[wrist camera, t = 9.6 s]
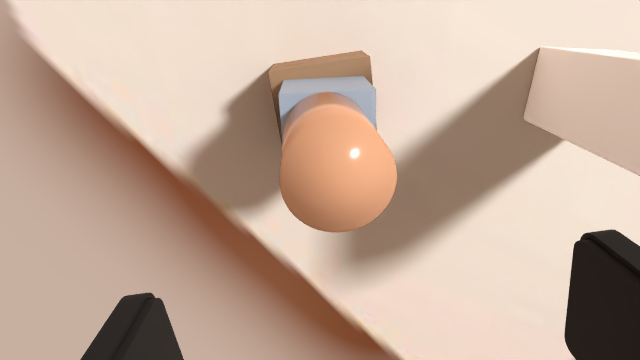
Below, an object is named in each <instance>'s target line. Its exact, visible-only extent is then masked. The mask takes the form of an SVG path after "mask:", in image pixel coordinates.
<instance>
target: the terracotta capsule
mask: <svg viewBox="0 0 640 360" xmlns="http://www.w3.org/2000/svg"><path fill="white" fill-rule="evenodd" d="M396 181H397V169H396V164H395V160H394V157H393V155H392V153H391V151H390V149H389V148H388V146H387V145H386V144H385V142H384V141H383V139H382V138H381V136H380V135H379V134H378V132H377V131H376V129H375V128H374V126H373V125H372V124H371V122H370V121H369V119H368V118H367V116H366V115H365V114H364V112H363V111H362V109H361V108H360V107H359V106H358V105H357V103H355V102H354V101H353V100H352V99H350V98H348V97H347V96H344V95H342V94H339V93H334V92H320V93H316V94H312V95H310V96H308V97H306V98H304V99H302V100H301V101H300V102H298V103H297V104H296V105H295V106H294V108H293V109H292V110H291V112H290V113H289V115H288V117H287V119H286V122H285V126H284V133H283V145H282V156H281V168H280V189H281V193H282V197H283V199H284V201H285V204H286V205H287V207H288V208H289V210H290V211H291V212H292V214H293V215H294V216H295V217H296V218H298V219H299V220H300V221H301V222H303V223H304V224H306V225H308V226H310V227H312V228H315V229H317V230H321V231H326V232H346V231H350V230H354V229H357V228H360V227H362V226H364V225H366V224H368V223H370V222H371V221H373V220H374V219H375V218H377V217H378V216H379V215H380V214H381V213H382V212H383V211H384V209H385V208H386V207H387V205H388V204H389V202H390V200H391V199H392V196H393V194H394V191H395V187H396Z"/></svg>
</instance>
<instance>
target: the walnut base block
mask: <svg viewBox="0 0 640 360" xmlns="http://www.w3.org/2000/svg"><path fill="white" fill-rule="evenodd" d="M268 74H269V79H270V84H271V90H272V95H273V100H274V105H275V111H276V116H277V121H278V127H279V132H280V137H281V143H282V130H281V118H280V106H279V92H280V89H281V86H282V83H283V81H284V80H293V79H314V78H334V77H354V76H364V77H365V78H366V79H367V80H368V81H369V83H370V84H371V85H372V86H373V84H372V73H371V62H370V56H368V55H367V54H365V53H364V52H362V51H356V52H349V53H343V54H336V55H330V56H323V57H317V58H310V59H304V60H297V61H291V62H284V63H277V64H273V66H272V67H271V69H270V70H269V72H268ZM376 131H377V127H376ZM282 145H283V143H282Z"/></svg>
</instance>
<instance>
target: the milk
mask: <svg viewBox="0 0 640 360" xmlns="http://www.w3.org/2000/svg"><path fill="white" fill-rule="evenodd" d="M523 120H525V121H527V122H529V123H531V124H533V125H535V126H537V127H540V128H542V129H544V130H546V131H548V132H550V133H552V134H554V135H556V136H558V137H560V138H562V139H564V140H566V141H569V142H571V143H573V144H575V145H577V146H579V147H581V148H583V149H585V150H587V151H589V152H591V153H593V154H595V155H598V156H600V157H602V158H604V159H606V160H608V161H610V162H612V163H614V164H616V165H618V166H620V167H622V168H624V169H627V170H629V171H631V172H633V173H635V174H637V175H639V176H640V53H634V52H625V51H616V50H601V49H580V48H560V47H540V51H539V55H538V59H537V63H536V67H535V71H534V76H533V80H532V84H531V88H530V92H529V96H528V101H527V105H526V109H525V113H524V117H523Z"/></svg>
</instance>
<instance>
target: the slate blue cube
mask: <svg viewBox="0 0 640 360" xmlns="http://www.w3.org/2000/svg"><path fill="white" fill-rule="evenodd" d="M320 92H334V93H339V94H342V95H344V96H347V97H348V98H350V99H352V100H353V101H354V102H355V103H357V105H358V106H359V107H360V108H361V109H362V111H363V112H364V114H365V115H366V116H367V118H368V119H369V121H370V122H371V124H372V125H373V126H374V128H375V129H376V89H375V88H374V87H373V86H372V85H371V84H370V83H369V81H368V80H367V79H366V78H365V77H364V76H354V77H334V78H314V79H293V80H284V81H283V83H282V86H281V89H280V92H279V106H280V118H281V130H282V143H283V133H284V126H285V122H286V119H287V117H288V115H289V113H290V112H291V110H292V109H293V108H294V106H295V105H296V104H297V103H298V102H300V101H301V100H302V99H304V98H306V97H308V96H310V95H312V94H316V93H320Z"/></svg>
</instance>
